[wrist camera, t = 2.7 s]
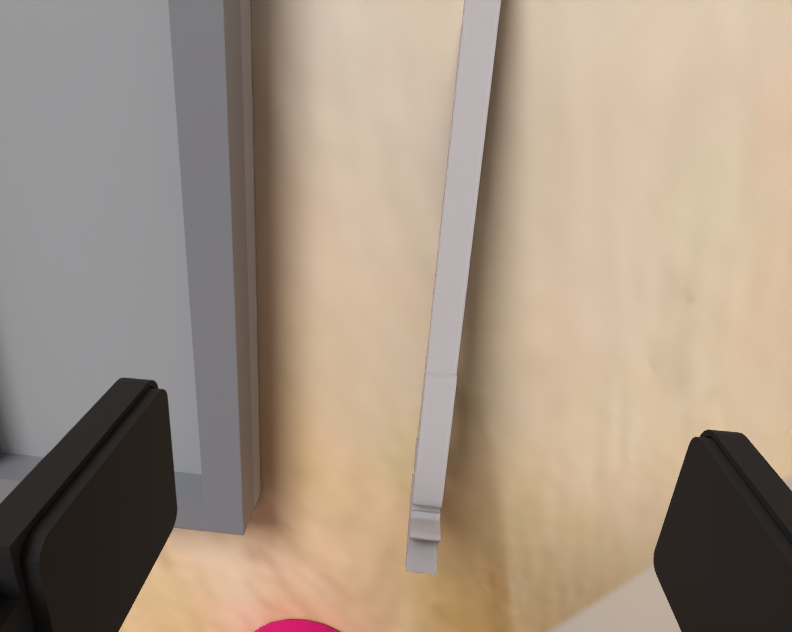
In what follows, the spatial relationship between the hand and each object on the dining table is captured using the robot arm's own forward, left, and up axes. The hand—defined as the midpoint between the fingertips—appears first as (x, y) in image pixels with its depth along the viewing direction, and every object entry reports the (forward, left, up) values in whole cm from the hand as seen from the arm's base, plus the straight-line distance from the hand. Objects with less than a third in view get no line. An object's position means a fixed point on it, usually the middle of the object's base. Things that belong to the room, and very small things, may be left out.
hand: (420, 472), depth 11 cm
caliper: (-1, 0, -12) cm, 12 cm away
